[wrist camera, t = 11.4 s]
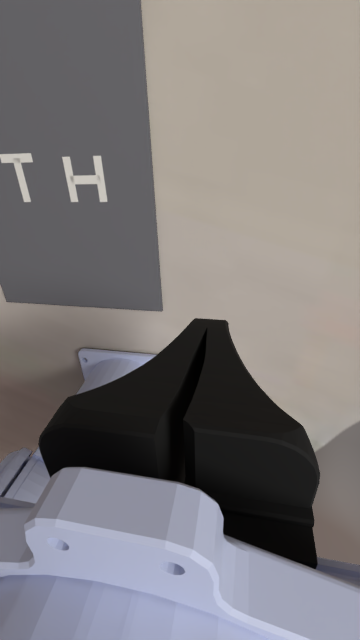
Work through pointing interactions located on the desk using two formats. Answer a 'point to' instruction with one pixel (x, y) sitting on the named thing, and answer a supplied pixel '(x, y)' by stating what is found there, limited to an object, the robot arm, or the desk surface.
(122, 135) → the mat
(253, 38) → the desk surface
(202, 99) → the desk surface
